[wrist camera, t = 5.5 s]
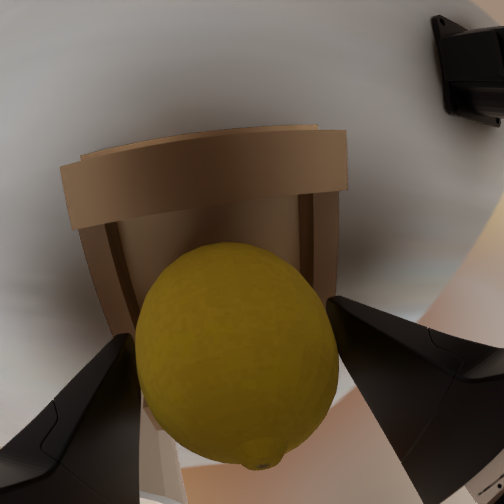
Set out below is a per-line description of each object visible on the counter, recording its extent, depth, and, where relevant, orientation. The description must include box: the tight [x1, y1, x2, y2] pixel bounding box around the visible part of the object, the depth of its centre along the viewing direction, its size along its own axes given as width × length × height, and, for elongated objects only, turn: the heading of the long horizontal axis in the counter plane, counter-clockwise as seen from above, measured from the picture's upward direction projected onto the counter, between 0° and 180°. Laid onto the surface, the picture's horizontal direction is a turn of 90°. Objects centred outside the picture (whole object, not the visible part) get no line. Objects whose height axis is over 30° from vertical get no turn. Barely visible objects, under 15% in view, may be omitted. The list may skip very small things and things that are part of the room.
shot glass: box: [139, 390, 188, 504], centre depth 12 cm, size 7×7×7 cm
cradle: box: [60, 125, 348, 431], centre depth 11 cm, size 9×12×4 cm
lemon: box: [135, 242, 339, 470], centre depth 8 cm, size 6×6×8 cm
